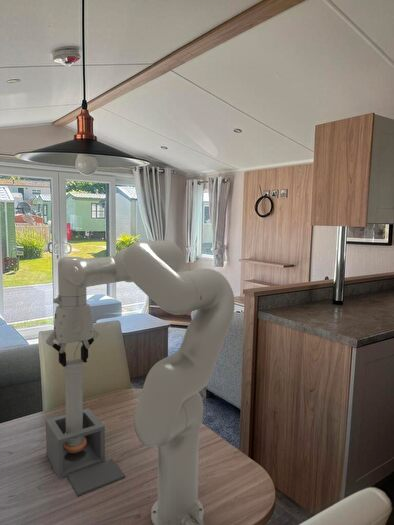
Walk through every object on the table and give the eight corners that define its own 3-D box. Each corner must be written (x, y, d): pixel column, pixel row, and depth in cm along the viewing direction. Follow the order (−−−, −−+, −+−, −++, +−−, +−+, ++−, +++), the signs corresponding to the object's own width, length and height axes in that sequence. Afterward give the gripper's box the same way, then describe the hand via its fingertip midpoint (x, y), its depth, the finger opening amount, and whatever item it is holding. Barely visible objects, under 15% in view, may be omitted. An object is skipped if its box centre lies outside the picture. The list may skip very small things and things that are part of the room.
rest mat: (125, 477, 105) (125, 475, 105) (77, 496, 97) (77, 494, 97) (112, 460, 112) (112, 458, 112) (67, 477, 105) (67, 475, 104)
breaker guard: (104, 462, 111) (104, 426, 110) (59, 478, 104) (58, 440, 103) (89, 441, 122) (88, 408, 121) (46, 454, 114) (45, 419, 113)
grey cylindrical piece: (60, 443, 111) (59, 342, 108) (76, 433, 116) (75, 337, 113) (74, 449, 108) (73, 346, 105) (89, 438, 114) (89, 340, 111)
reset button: (89, 453, 112) (89, 443, 112) (67, 460, 108) (67, 450, 108) (82, 442, 117) (82, 433, 117) (60, 449, 113) (60, 439, 113)
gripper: (44, 306, 100) (46, 373, 102) (106, 300, 110) (107, 361, 112) (37, 301, 106) (39, 365, 108) (97, 295, 116) (97, 353, 118)
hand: (73, 362), depth 110 cm, fingers closed on grey cylindrical piece, 5 cm apart
